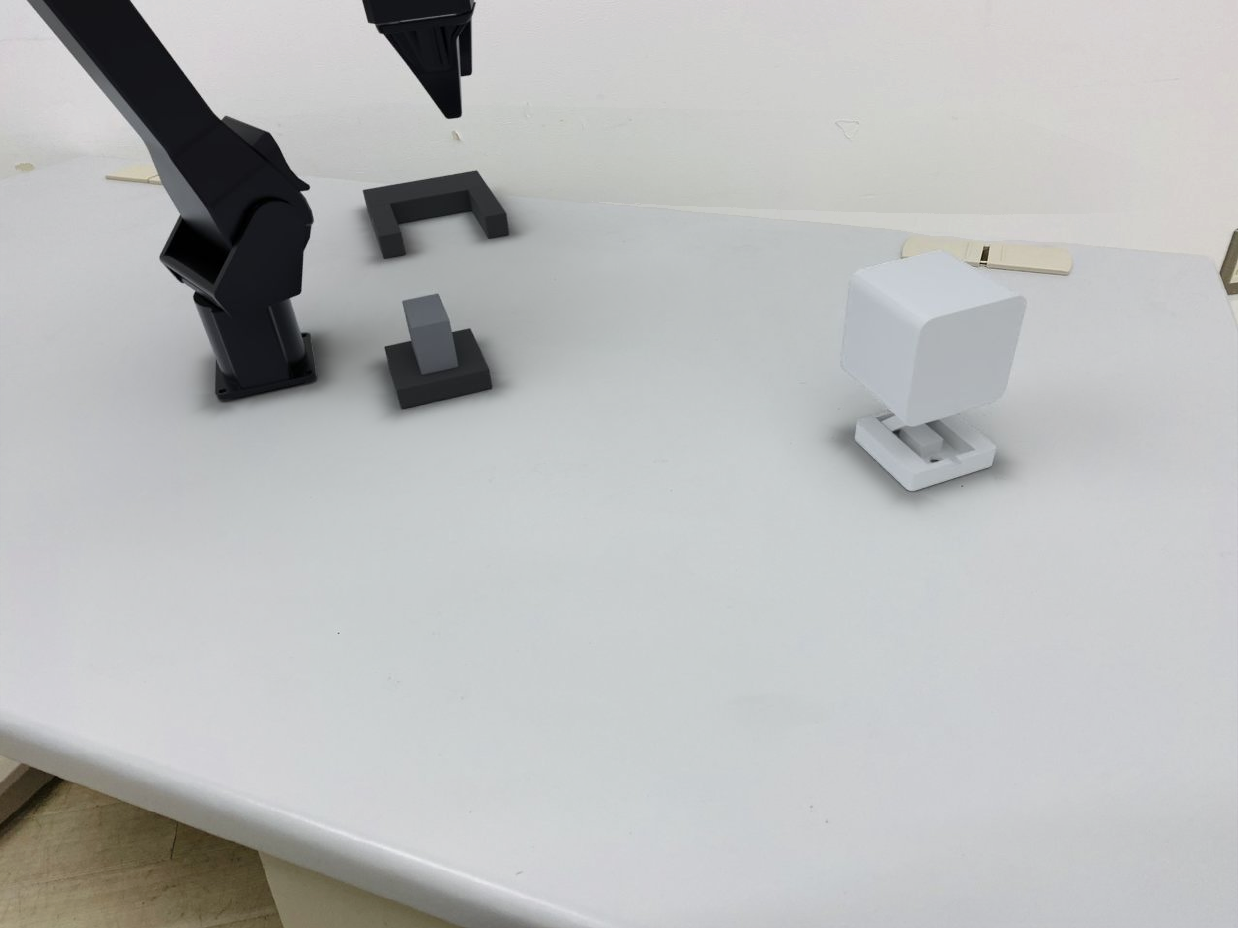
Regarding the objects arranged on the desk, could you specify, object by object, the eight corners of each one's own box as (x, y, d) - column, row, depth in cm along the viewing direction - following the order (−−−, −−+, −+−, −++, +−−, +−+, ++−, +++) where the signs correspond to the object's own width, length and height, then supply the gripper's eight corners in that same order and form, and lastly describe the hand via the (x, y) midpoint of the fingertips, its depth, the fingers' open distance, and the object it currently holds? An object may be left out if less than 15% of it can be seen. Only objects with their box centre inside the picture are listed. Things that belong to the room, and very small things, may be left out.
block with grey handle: (492, 388, 58) (481, 320, 55) (401, 409, 57) (384, 341, 54) (473, 346, 63) (462, 281, 60) (388, 365, 61) (372, 299, 58)
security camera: (922, 400, 54) (949, 246, 48) (1000, 463, 49) (1042, 299, 43) (831, 426, 53) (848, 270, 47) (902, 494, 47) (932, 328, 41)
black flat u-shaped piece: (509, 234, 78) (506, 212, 77) (383, 258, 75) (378, 236, 74) (480, 190, 87) (477, 170, 86) (367, 210, 85) (362, 189, 83)
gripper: (531, -173, 46) (573, 127, 56) (537, -200, 60) (570, 44, 71) (320, -144, 47) (400, 149, 57) (376, -177, 61) (431, 62, 71)
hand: (460, 95), depth 64 cm, fingers open, 9 cm apart
